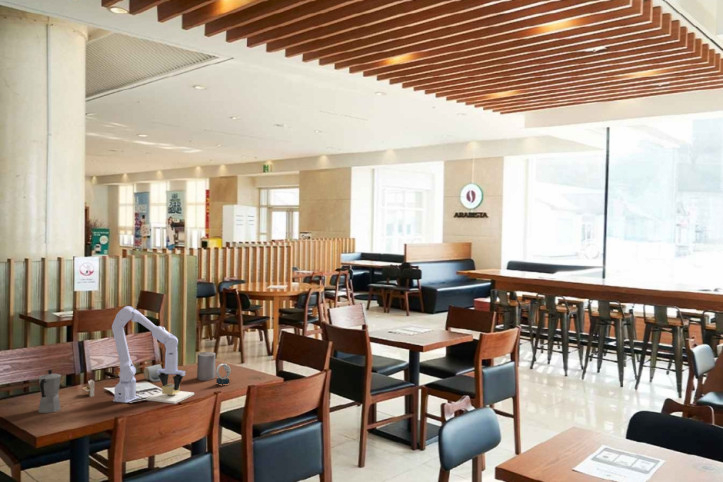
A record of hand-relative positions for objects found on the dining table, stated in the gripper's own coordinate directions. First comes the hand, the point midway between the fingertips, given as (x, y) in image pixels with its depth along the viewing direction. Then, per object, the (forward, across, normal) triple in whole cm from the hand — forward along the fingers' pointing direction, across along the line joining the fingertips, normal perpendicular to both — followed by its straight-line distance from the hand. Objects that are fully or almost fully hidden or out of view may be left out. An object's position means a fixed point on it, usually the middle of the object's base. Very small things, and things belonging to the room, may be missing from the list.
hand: (170, 389), depth 282 cm
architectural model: (+5, +38, +11) cm, 40 cm away
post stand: (+4, 0, 0) cm, 4 cm away
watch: (+4, -11, -30) cm, 32 cm away
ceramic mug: (+4, +28, -25) cm, 38 cm away
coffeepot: (+4, +37, +37) cm, 52 cm away
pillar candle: (+4, +4, -38) cm, 38 cm away
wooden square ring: (+2, 0, 0) cm, 2 cm away
